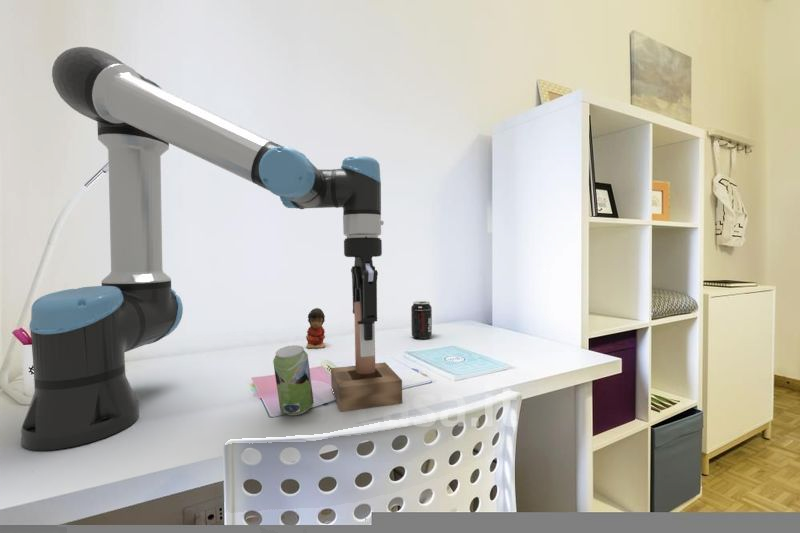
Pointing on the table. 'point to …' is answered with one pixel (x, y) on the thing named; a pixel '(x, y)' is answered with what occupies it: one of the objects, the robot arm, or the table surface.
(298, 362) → the beverage can
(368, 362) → the dowel
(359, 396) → the socket block
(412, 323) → the beverage can
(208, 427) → the table surface
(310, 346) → the figurine
